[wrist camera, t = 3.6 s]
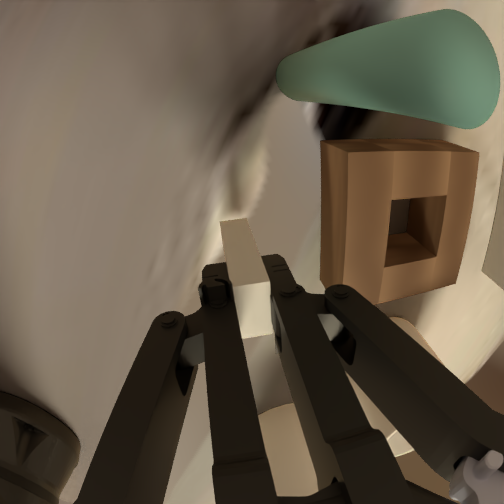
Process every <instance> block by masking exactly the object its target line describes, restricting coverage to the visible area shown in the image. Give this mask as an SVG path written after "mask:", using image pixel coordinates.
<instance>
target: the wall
mask: <svg viewBox="0 0 504 504" xmlns="http://www.w3.org/2000/svg"><path fill="white" fill-rule="evenodd" d="M482 272H483V273H484V274H486V275H487V276H488V277H489V278H490V279H491V280H493V281H494V282H495V283H496V284H497V285H498V286H500V287H501V288H502V289H503V290H504V161H503V170H502V177H501V185H500V191H499V197H498V203H497V209H496V214H495V219H494V224H493V228H492V233H491V237H490V242H489V246H488V250H487V254H486V257H485V261H484V265H483V268H482Z"/></svg>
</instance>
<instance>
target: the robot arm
mask: <svg viewBox="0 0 504 504" xmlns="http://www.w3.org/2000/svg"><path fill="white" fill-rule="evenodd" d="M220 227H221V234H222V241H223V249H224V256H225V262H223V263H216V264H209V265H206V266H205V267H204V269H203V270H202V283H201V284H200V285H199V287H198V291H199V295H200V300H201V305H202V307H201V308H200V309H199V310H198V311H196V312H195V313H193V314H191V315H188V316H185V317H184V315H183V314H182V313H180V312H176V311H168V312H165V313H162V314H160V315H159V316H157V317H156V318H155V319H154V321H153V322H152V325H151V327H150V329H149V331H148V333H147V335H146V337H145V339H144V341H143V343H142V346H141V348H140V350H139V352H138V354H137V356H136V358H135V361H134V363H133V365H132V367H131V369H130V372H129V374H128V376H127V378H126V381H125V383H124V385H123V387H122V390H121V392H120V394H119V396H118V399H117V401H116V403H115V406H114V408H113V410H112V413H111V415H110V417H109V420H108V422H107V424H106V427H105V429H104V432H103V434H102V436H101V439H100V441H99V444H98V446H97V449H96V451H95V454H94V456H93V459H92V461H91V464H90V467H89V469H88V472H87V474H86V477H85V480H84V482H83V485H82V488H81V490H80V493H79V496H78V498H77V500H76V501H75V502H74V503H73V504H163V501H164V497H165V493H166V489H167V485H168V481H169V477H170V473H171V469H172V465H173V460H174V457H175V453H176V449H177V446H178V442H179V437H180V434H181V430H182V426H183V423H184V419H185V415H186V411H187V407H188V404H189V400H190V396H191V392H192V389H193V385H194V381H195V378H196V374H197V370H198V364H200V363H202V362H205V370H206V382H207V395H208V407H209V418H210V429H211V439H212V449H213V458H214V464H213V466H212V477H213V486H214V494H215V502H216V504H458V503H456V502H453V501H451V500H449V499H446V498H444V497H442V496H440V495H437V494H435V493H433V492H431V491H429V490H427V489H424V488H422V487H420V486H418V485H416V484H414V483H412V482H410V481H408V480H405V478H404V476H403V474H402V472H401V470H400V467H399V465H398V463H397V461H396V459H395V457H394V454H393V452H392V450H391V448H390V446H389V444H388V442H387V440H386V438H385V436H384V434H383V433H382V432H381V431H380V430H379V429H373V428H372V427H371V425H370V423H369V421H368V419H367V417H366V415H365V412H364V410H363V408H362V406H361V404H360V402H359V400H358V398H357V395H356V393H355V391H354V389H353V387H352V385H351V383H350V381H349V379H348V377H347V374H348V375H349V376H350V377H351V378H352V379H353V381H354V382H355V383H356V384H357V385H358V386H359V387H360V389H361V390H362V391H363V392H364V393H365V394H366V395H367V397H368V398H369V399H370V400H371V401H372V402H373V403H374V404H375V406H376V407H377V408H378V409H379V410H380V411H381V412H382V414H383V415H384V416H385V417H386V418H387V419H388V420H389V422H390V423H391V424H392V425H393V426H394V427H395V428H396V429H397V431H398V432H399V433H400V434H401V435H402V436H403V437H404V439H405V440H406V441H407V442H408V443H409V444H410V445H411V446H412V448H413V449H414V450H415V451H416V452H417V453H418V454H419V455H420V457H421V458H422V459H423V460H424V461H425V462H426V463H427V464H428V465H429V466H430V467H431V468H432V469H433V470H434V471H435V472H436V473H438V474H439V475H440V476H441V477H443V478H444V479H445V480H447V481H449V482H450V491H449V496H450V497H451V498H452V499H454V500H458V501H459V502H460V503H461V504H504V415H502V414H500V413H498V412H496V411H494V410H492V409H491V408H490V407H489V406H488V405H487V404H486V403H484V402H483V401H482V400H481V399H480V398H479V397H478V396H477V395H476V394H475V393H474V392H473V391H471V390H470V389H469V388H468V387H467V386H466V385H465V384H464V383H463V382H462V381H460V380H459V379H458V378H457V377H456V376H455V375H454V374H453V373H452V372H450V371H449V370H448V369H447V368H446V367H445V366H444V365H443V364H441V363H440V362H439V361H438V360H437V359H436V358H435V357H434V356H432V355H431V354H430V353H429V352H428V351H427V350H426V349H424V348H423V347H422V346H421V345H420V344H419V343H418V342H416V341H415V340H414V339H413V338H412V337H411V336H409V335H408V334H407V333H406V332H405V331H404V330H402V329H401V328H400V327H399V326H398V325H397V324H395V323H394V322H393V321H392V320H391V319H390V318H388V317H387V316H386V315H385V314H384V313H383V312H381V311H380V310H379V309H378V308H377V307H375V306H374V305H373V304H372V303H371V302H369V301H368V300H367V299H366V298H365V297H363V296H362V295H361V294H360V293H359V292H357V291H356V290H355V289H354V288H352V287H350V286H348V285H344V284H336V285H331V286H330V287H328V288H327V289H326V290H325V294H311V293H307V292H306V291H305V289H304V288H303V287H302V286H300V285H298V284H296V282H295V280H294V277H293V275H292V273H291V271H290V270H289V267H288V265H287V263H286V261H285V259H284V258H283V257H281V256H280V255H278V254H273V255H266V256H260V253H259V251H258V248H257V245H256V242H255V239H254V237H253V234H252V232H251V229H250V226H249V223H248V221H247V218H243V219H235V220H228V221H221V222H220ZM273 329H274V332H275V347H276V354H278V352H279V356H280V359H281V362H282V366H283V369H284V372H285V375H286V379H287V382H288V385H289V388H290V392H291V395H292V398H293V401H294V405H295V408H296V411H297V415H298V418H299V421H300V424H301V428H302V431H303V434H304V437H305V441H306V444H307V447H308V450H309V454H310V457H311V460H312V463H313V466H314V470H315V473H316V477H317V485H318V492H316V493H314V494H312V495H310V496H277V494H276V490H275V485H274V481H273V477H272V472H271V468H270V464H269V460H268V457H267V454H266V450H265V446H264V441H263V437H262V432H261V428H260V423H259V418H258V414H257V409H256V404H255V400H254V395H253V390H252V385H251V381H250V376H249V371H248V366H247V361H246V356H245V351H244V346H243V342H242V339H243V338H250V337H256V336H262V335H268V334H273ZM345 371H346V372H345ZM346 373H347V374H346ZM80 449H81V446H80V442H79V440H78V439H77V437H76V436H75V435H74V433H73V432H72V431H71V430H70V429H69V428H67V427H66V426H65V425H64V424H63V423H61V422H60V421H59V420H57V419H56V418H55V417H53V416H52V415H50V414H49V413H47V412H45V411H44V410H42V409H40V408H38V407H37V406H35V405H33V404H31V403H29V402H27V401H25V400H22V399H20V398H17V397H15V396H12V395H9V394H6V393H2V392H0V504H58V503H59V497H60V494H61V492H62V490H63V488H64V487H65V485H66V483H67V481H68V479H69V478H70V476H71V474H72V472H73V470H74V468H75V467H76V466H77V464H78V461H79V455H80Z"/></svg>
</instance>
